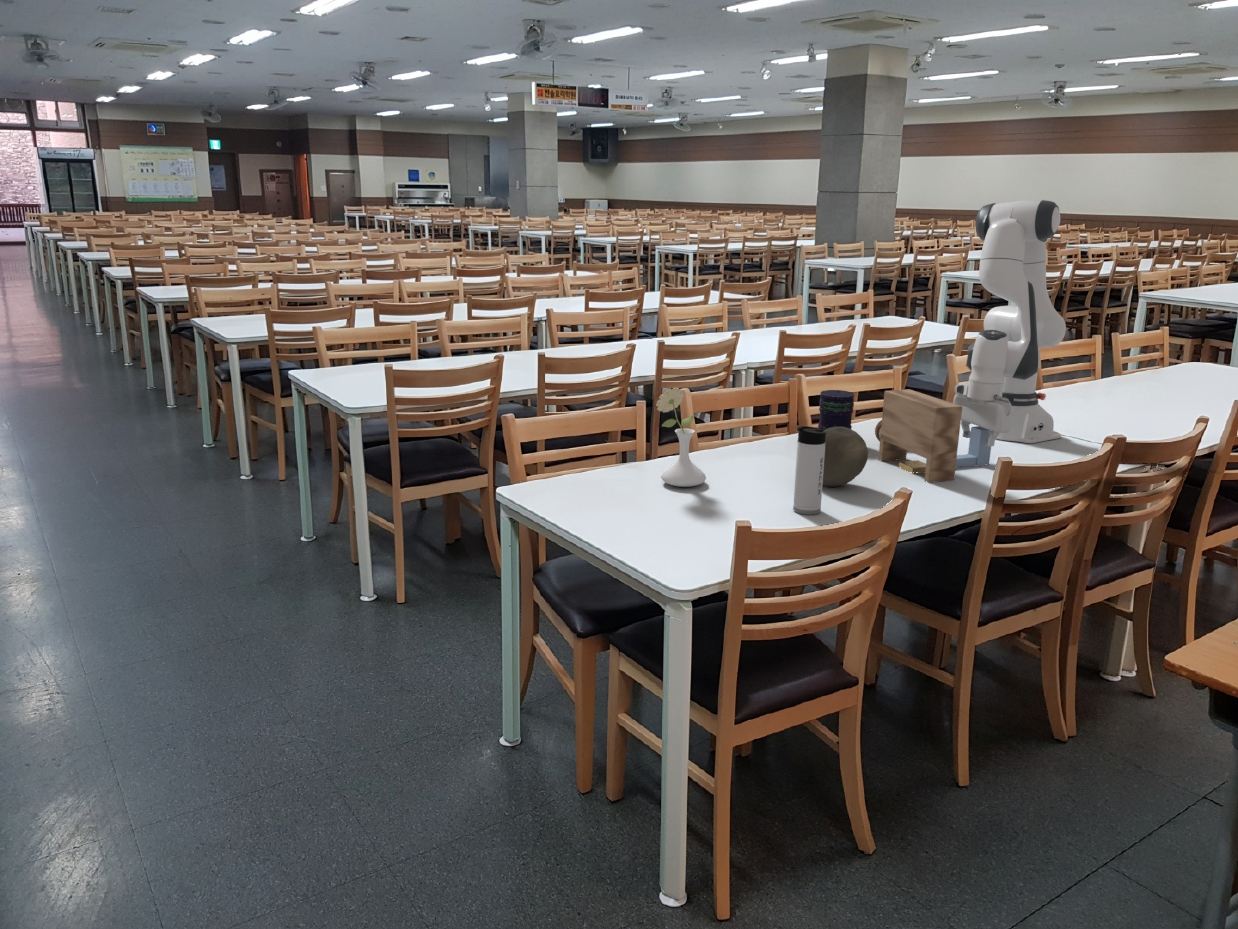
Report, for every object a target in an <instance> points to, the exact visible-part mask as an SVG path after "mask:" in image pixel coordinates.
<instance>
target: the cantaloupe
mask: <svg viewBox="0 0 1238 929" xmlns="http://www.w3.org/2000/svg"><path fill="white" fill-rule="evenodd" d="M824 432H826V438H825V442H826V443H825V457H824V471H823V484H822V486H826V487H830V488H831V487H840V486H844V485H846V484H848V483H850V482H852V481H853V480H855V479H856V477H858V476H859V475H860V474H861V473H862V472H863V470H864V468H865V466H866V464H867V462H868V460H869V448H868V447H867V444H866V440H864V438H863V437H862V436H861V435H860V434H859V433H858V432H856V431H854V429H849V428H846V427H832V428H828V429H826V430H824Z"/></svg>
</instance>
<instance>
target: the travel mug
mask: <svg viewBox="0 0 1238 929" xmlns="http://www.w3.org/2000/svg"><path fill="white" fill-rule="evenodd" d="M796 431H797V432H798V434H797V435H798V436H797V445H796V459H795V460H796V461H795V474H794V475H795V476H794V492H793V503H792V504H793V505H792V506H793V507H792V510H793V511H794V512H795V513H797V514H799V515H804V516H814V515H818V514H820V512H821V511H822V510H821V508H822V499H823V498H822V495H823V471H824V457H825V443H826V442H825V438H826V432H824V431H823V430H822V429H819V428H818V427H814V426H807V425H806V426H797V427H796Z"/></svg>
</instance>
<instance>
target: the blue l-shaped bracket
mask: <svg viewBox="0 0 1238 929" xmlns="http://www.w3.org/2000/svg"><path fill="white" fill-rule="evenodd" d="M970 431H971V434H970V438H969V443H968V451H967V452H968V453H967V454H957V458H956V468H960V467H959V466H966V467H973V466H972V465H982V466H986V465H985V464H989V465H990V460H991V459H990V458H991V452H992V451H991V450H992V446H991V447H990V446H987V445H985V443H986V439H988V438H989V437H990V435H991V434H989V432H990V430H988V429H986V428H983V427H980V426H977V425H975V426H971V427H970Z"/></svg>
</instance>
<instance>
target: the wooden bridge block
mask: <svg viewBox="0 0 1238 929" xmlns="http://www.w3.org/2000/svg"><path fill="white" fill-rule="evenodd" d="M961 415H962V406H960V405H957V404H954V403H953V402H951V401H947V400H945V399H941V398H938V397H934V396H931V395H929V394H925V393H922V392H920V391H915V390H913V389H895V390H884V394H883V405H882V415H881V416H882V417H881V420H882V425H881V436H880V442H879V446H878V447H879V449H878V450H879V451H878V458H877V460H878V461H879V460H881V461H880V462H884V461H883V460H891V461H897V460H896V459H902V460H906V459H907V454H908V452H909V453H912V454H915V455H917V456H919V457H922V458H924V459H926V460H925V461H926V462H925V464H926V469H925V473H924V480H925V481H927V482H930V483H937V482H936V481H940V482H946V480H949V481H955V473H956V468H957V467H956V458H957V455H958V448H959V440H960V439H959V438H960V433H961ZM955 467H956V468H955ZM925 481H924V482H925ZM934 481H935V482H934ZM927 482H926V483H927Z"/></svg>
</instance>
